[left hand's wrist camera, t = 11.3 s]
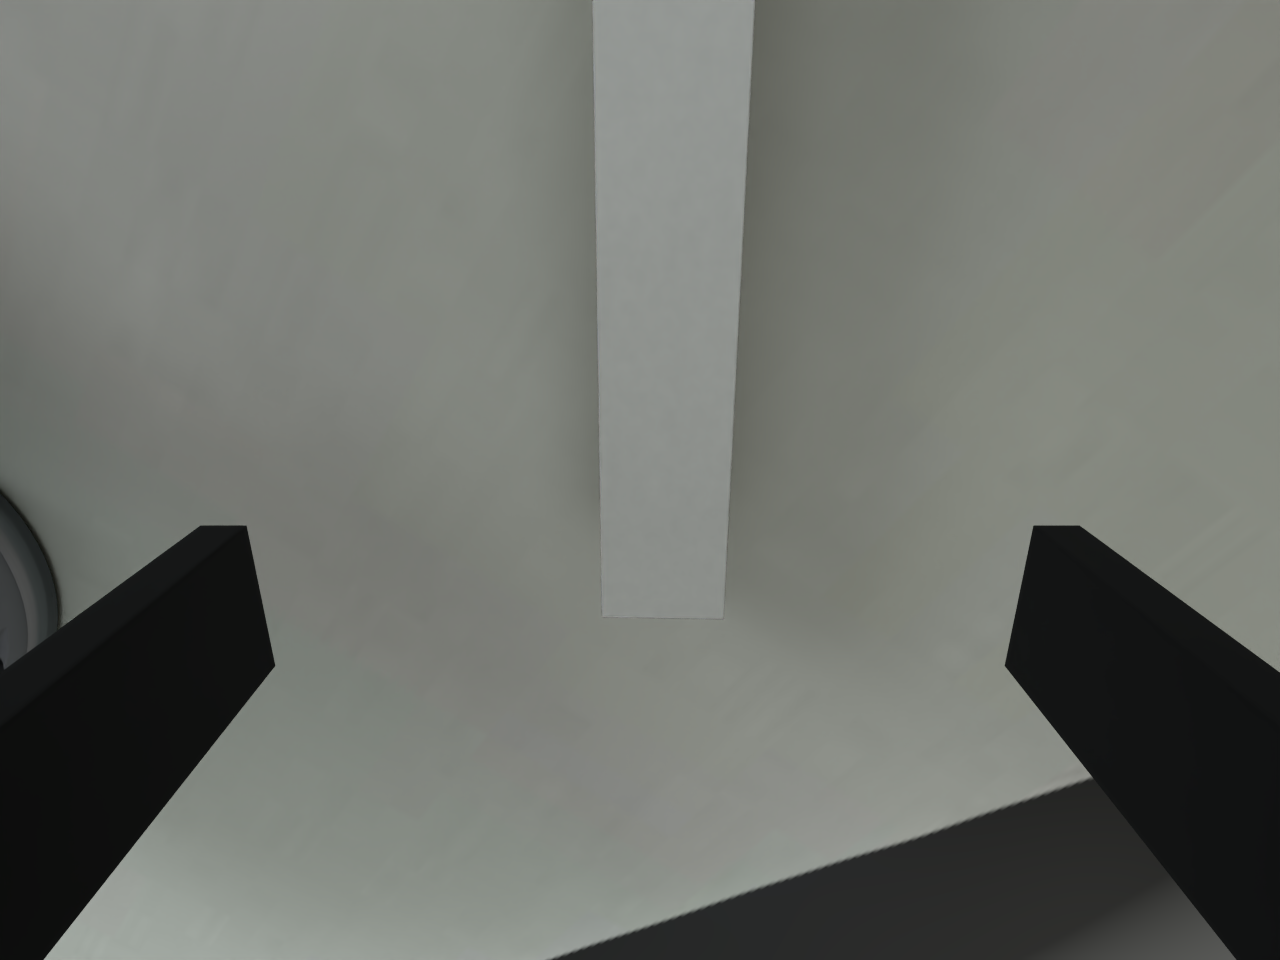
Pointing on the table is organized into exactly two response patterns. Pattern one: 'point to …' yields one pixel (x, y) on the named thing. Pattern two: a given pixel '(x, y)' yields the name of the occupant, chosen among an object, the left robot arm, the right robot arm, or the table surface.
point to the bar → (668, 294)
